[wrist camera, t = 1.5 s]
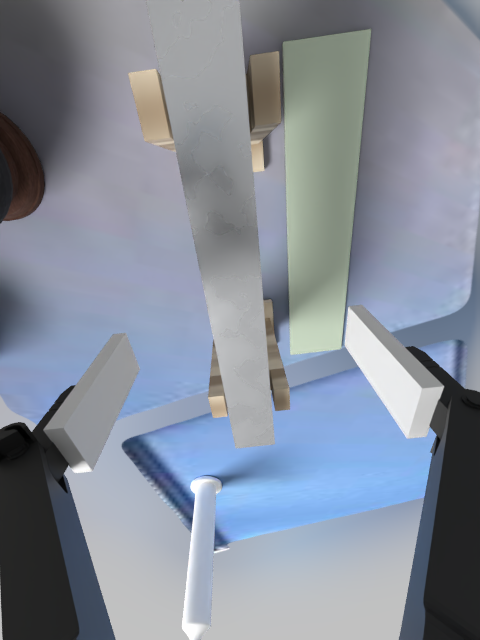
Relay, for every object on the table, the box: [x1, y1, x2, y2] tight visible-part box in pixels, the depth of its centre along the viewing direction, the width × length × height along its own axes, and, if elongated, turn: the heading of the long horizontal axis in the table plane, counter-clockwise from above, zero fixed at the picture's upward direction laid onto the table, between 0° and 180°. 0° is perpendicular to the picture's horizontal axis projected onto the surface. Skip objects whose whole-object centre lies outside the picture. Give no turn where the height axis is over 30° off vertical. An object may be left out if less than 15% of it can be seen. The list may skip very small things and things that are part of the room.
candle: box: [182, 476, 222, 640], centre depth 49 cm, size 7×7×25 cm
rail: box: [146, 0, 275, 448], centre depth 21 cm, size 32×4×5 cm, turn 7°
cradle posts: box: [128, 51, 290, 418], centre depth 27 cm, size 32×9×15 cm, turn 7°
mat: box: [282, 29, 371, 355], centre depth 33 cm, size 36×8×1 cm, turn 7°
